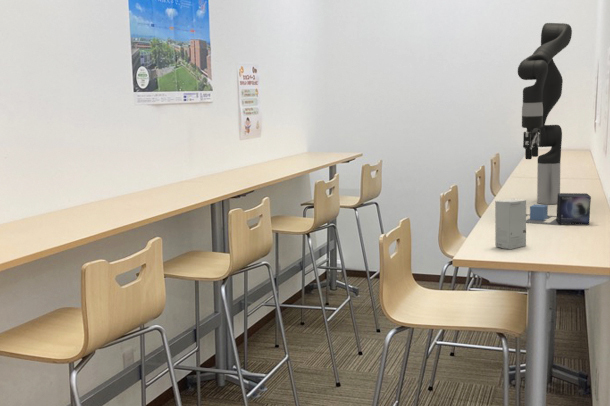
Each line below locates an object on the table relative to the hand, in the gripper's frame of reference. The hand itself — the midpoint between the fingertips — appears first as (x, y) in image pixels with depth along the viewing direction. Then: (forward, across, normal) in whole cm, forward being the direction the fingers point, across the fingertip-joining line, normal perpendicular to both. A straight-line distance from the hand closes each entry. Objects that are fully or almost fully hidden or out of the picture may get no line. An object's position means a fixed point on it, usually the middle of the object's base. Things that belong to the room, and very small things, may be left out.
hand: (531, 157), depth 264 cm
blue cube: (+22, -4, -4) cm, 23 cm away
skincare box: (+22, -53, -8) cm, 58 cm away
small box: (+23, -7, -17) cm, 29 cm away
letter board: (+23, -4, -4) cm, 23 cm away
